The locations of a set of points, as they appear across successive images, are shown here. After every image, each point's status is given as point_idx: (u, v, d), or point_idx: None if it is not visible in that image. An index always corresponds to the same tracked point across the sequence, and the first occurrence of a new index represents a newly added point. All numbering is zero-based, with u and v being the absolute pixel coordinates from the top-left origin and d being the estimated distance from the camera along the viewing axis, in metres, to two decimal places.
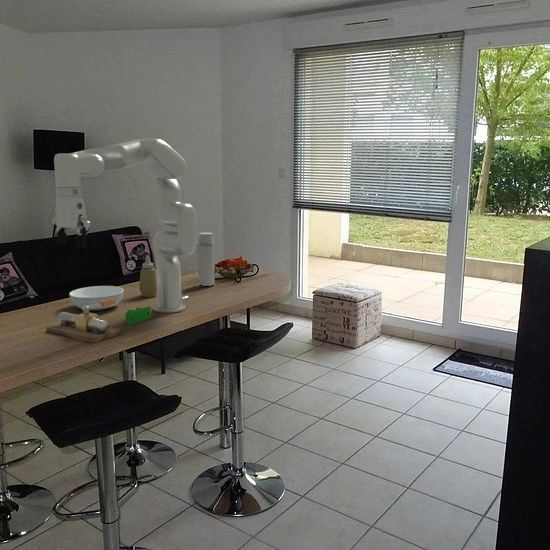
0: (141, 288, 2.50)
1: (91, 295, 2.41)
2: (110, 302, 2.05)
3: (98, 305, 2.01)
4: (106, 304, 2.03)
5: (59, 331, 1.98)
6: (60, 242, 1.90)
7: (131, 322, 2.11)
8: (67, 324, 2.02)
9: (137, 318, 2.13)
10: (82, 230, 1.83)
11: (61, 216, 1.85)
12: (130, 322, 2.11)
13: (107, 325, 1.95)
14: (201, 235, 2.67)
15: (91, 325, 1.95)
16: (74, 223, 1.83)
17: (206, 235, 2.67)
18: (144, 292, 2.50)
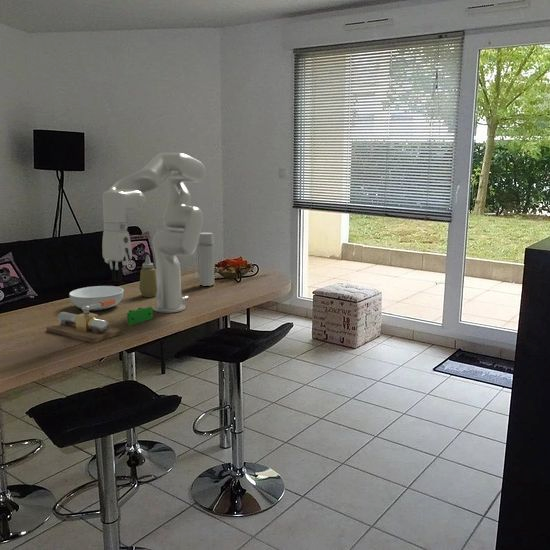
0: (141, 288, 2.50)
1: (91, 295, 2.41)
2: (110, 302, 2.05)
3: (98, 305, 2.01)
4: (106, 304, 2.03)
5: (59, 331, 1.98)
6: None
7: (132, 322, 2.11)
8: (67, 324, 2.02)
9: (138, 318, 2.13)
10: (119, 265, 1.96)
11: (108, 249, 1.96)
12: (131, 322, 2.10)
13: (107, 325, 1.95)
14: (201, 235, 2.67)
15: (91, 325, 1.95)
16: (121, 256, 1.94)
17: (206, 235, 2.67)
18: (144, 292, 2.50)
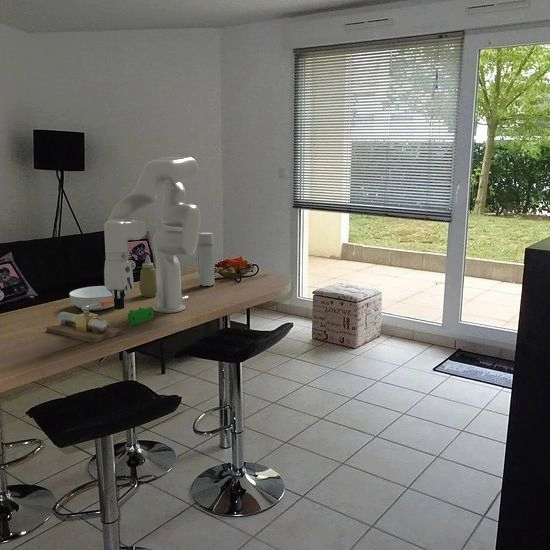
0: (141, 288, 2.50)
1: (91, 295, 2.41)
2: (110, 302, 2.05)
3: (98, 305, 2.01)
4: (106, 304, 2.03)
5: (59, 331, 1.98)
6: None
7: (133, 323, 2.10)
8: (67, 324, 2.02)
9: (139, 319, 2.12)
10: (121, 294, 1.99)
11: (110, 278, 1.98)
12: (132, 323, 2.10)
13: (107, 325, 1.95)
14: (201, 235, 2.67)
15: (91, 325, 1.95)
16: (122, 286, 1.96)
17: (206, 235, 2.67)
18: (144, 292, 2.50)
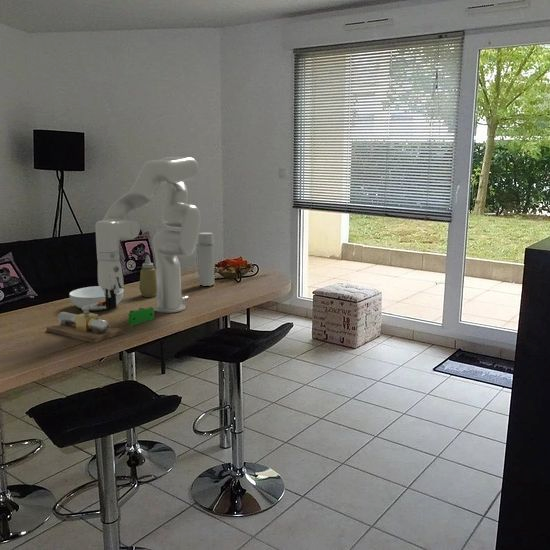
0: (141, 288, 2.50)
1: (91, 295, 2.41)
2: None
3: (97, 305, 2.01)
4: (105, 304, 2.04)
5: (59, 331, 1.98)
6: None
7: (134, 323, 2.10)
8: (67, 324, 2.02)
9: (139, 319, 2.12)
10: (111, 293, 2.01)
11: (101, 277, 2.01)
12: (133, 323, 2.10)
13: (107, 325, 1.95)
14: (201, 235, 2.67)
15: (91, 325, 1.95)
16: (111, 285, 1.97)
17: (206, 235, 2.67)
18: (144, 292, 2.50)
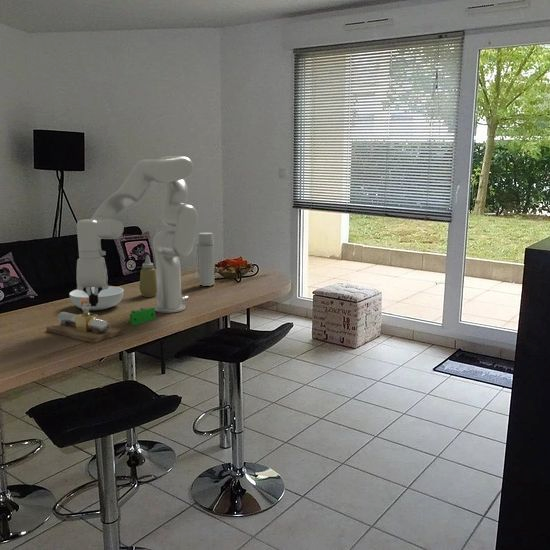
0: (141, 288, 2.50)
1: None
2: None
3: (87, 304, 2.02)
4: None
5: (59, 331, 1.98)
6: None
7: (135, 323, 2.10)
8: (67, 324, 2.02)
9: (141, 319, 2.12)
10: (98, 290, 2.05)
11: (86, 277, 2.02)
12: (134, 323, 2.09)
13: (107, 325, 1.95)
14: (201, 235, 2.67)
15: (91, 325, 1.95)
16: (104, 281, 2.03)
17: (206, 235, 2.67)
18: (144, 292, 2.50)
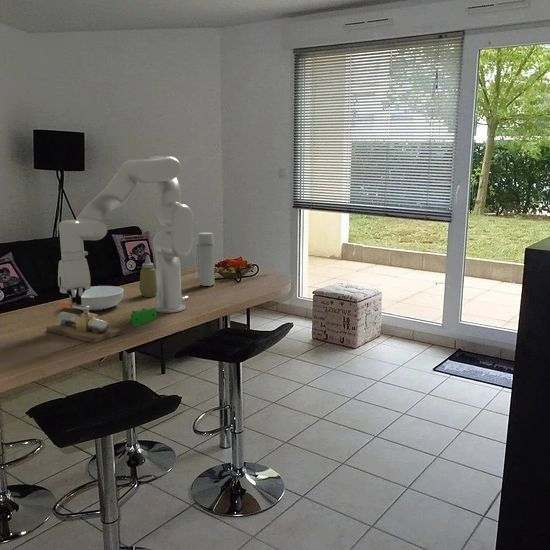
0: (141, 288, 2.50)
1: (91, 295, 2.41)
2: None
3: None
4: None
5: (59, 331, 1.98)
6: None
7: (136, 323, 2.09)
8: (67, 324, 2.02)
9: (142, 319, 2.11)
10: None
11: (73, 278, 2.00)
12: (135, 323, 2.09)
13: (107, 325, 1.95)
14: (201, 235, 2.67)
15: (91, 325, 1.95)
16: (89, 281, 2.04)
17: (206, 235, 2.67)
18: (144, 292, 2.50)
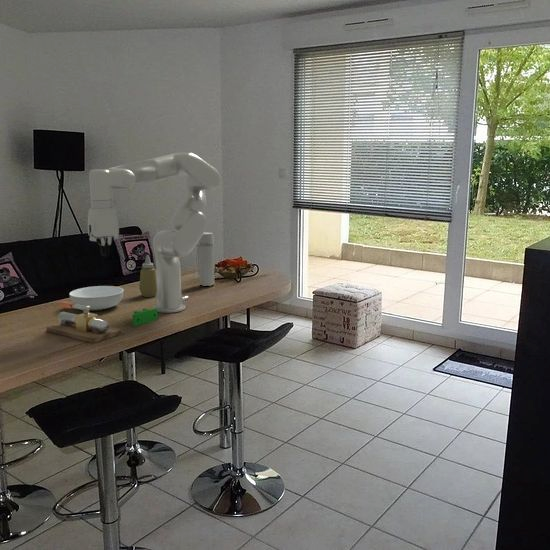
0: (141, 288, 2.50)
1: (91, 295, 2.41)
2: None
3: None
4: None
5: (59, 331, 1.98)
6: None
7: (138, 324, 2.09)
8: (67, 324, 2.02)
9: (143, 320, 2.11)
10: (111, 240, 2.08)
11: (103, 226, 2.04)
12: (137, 324, 2.09)
13: (107, 325, 1.95)
14: None
15: (91, 325, 1.95)
16: (117, 230, 2.08)
17: (206, 235, 2.67)
18: (144, 292, 2.50)
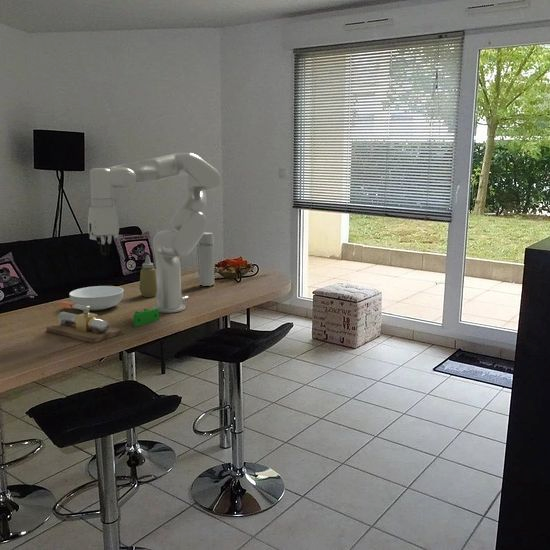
0: (141, 288, 2.50)
1: (91, 295, 2.41)
2: None
3: None
4: None
5: (59, 331, 1.98)
6: None
7: (139, 324, 2.09)
8: (67, 324, 2.02)
9: (144, 320, 2.11)
10: (111, 239, 2.08)
11: (103, 225, 2.04)
12: (138, 324, 2.08)
13: (107, 325, 1.95)
14: None
15: (91, 325, 1.95)
16: (118, 229, 2.08)
17: (206, 235, 2.67)
18: (144, 292, 2.50)
